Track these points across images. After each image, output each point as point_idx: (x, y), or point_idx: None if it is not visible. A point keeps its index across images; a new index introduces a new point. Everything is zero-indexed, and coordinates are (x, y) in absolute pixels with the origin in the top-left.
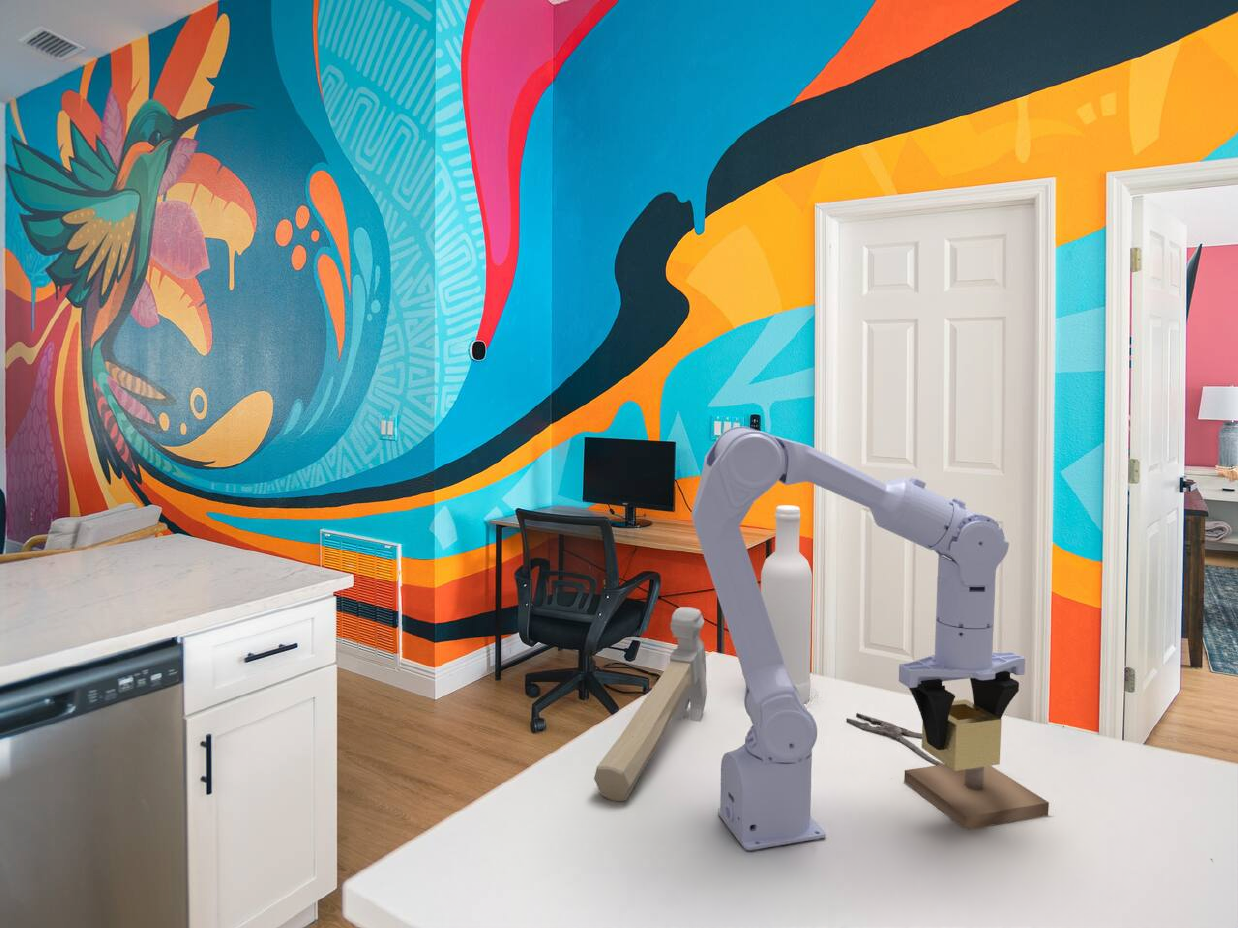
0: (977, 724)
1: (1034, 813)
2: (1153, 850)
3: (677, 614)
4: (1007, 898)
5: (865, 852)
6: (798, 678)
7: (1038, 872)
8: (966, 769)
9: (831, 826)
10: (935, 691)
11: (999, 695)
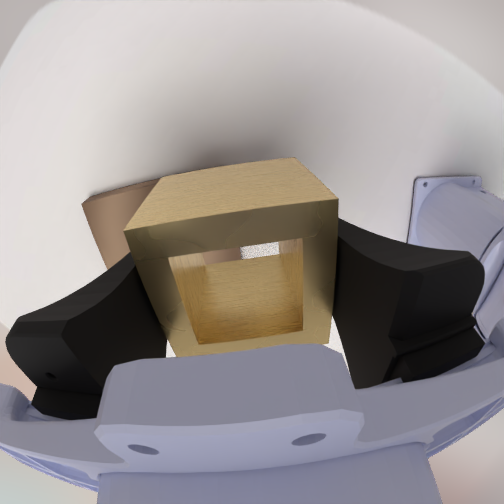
0: (235, 208)
1: (106, 193)
2: (20, 120)
3: (427, 458)
4: (265, 12)
5: (390, 140)
6: None
7: (181, 56)
8: None
9: (396, 201)
10: (453, 308)
11: (96, 311)
